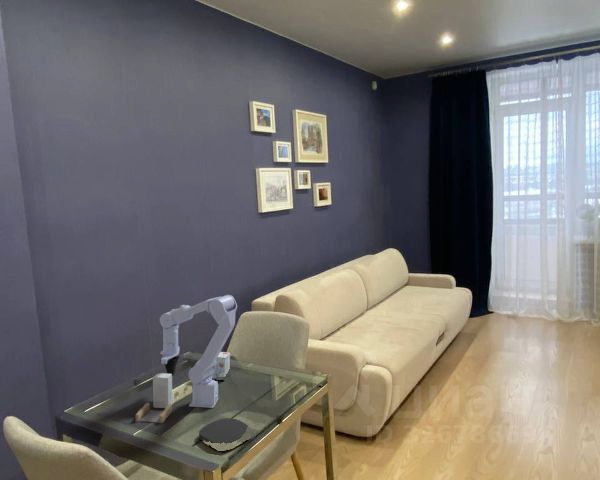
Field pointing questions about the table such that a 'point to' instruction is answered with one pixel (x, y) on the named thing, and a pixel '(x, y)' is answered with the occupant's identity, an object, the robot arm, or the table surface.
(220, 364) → the light bulb box
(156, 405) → the skincare box
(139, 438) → the table surface
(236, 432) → the media streaming box
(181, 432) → the table surface
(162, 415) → the cradle
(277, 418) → the table surface
